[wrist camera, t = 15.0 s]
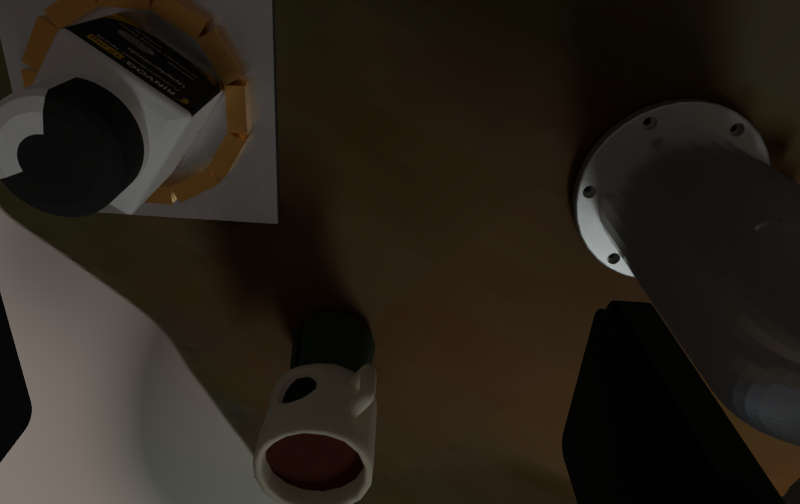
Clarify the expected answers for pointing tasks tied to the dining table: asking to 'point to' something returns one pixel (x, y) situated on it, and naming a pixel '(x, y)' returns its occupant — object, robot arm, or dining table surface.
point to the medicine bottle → (102, 119)
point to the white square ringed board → (227, 122)
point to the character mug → (321, 417)
